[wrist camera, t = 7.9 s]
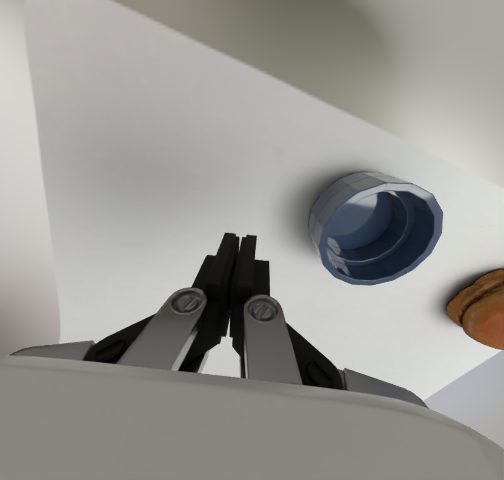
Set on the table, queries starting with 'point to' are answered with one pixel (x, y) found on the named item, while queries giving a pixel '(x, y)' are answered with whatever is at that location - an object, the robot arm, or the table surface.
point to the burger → (481, 310)
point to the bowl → (374, 227)
